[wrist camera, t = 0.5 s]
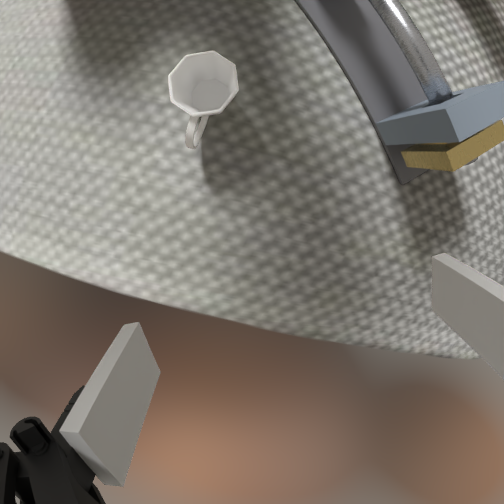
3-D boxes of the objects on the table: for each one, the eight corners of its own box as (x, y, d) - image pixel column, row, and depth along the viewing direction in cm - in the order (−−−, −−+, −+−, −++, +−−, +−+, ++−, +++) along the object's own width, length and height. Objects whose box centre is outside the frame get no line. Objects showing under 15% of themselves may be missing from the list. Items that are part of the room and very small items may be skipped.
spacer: (400, 151, 33) (446, 151, 24) (453, 124, 32) (501, 120, 23) (407, 167, 33) (453, 171, 24) (459, 138, 32) (507, 137, 23)
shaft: (333, -35, 22) (340, -49, 19) (355, -40, 22) (363, -53, 19) (449, 165, 29) (465, 167, 26) (466, 155, 29) (483, 156, 26)
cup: (248, 78, 33) (249, 57, 26) (225, 156, 36) (220, 155, 28) (191, 66, 33) (178, 44, 25) (168, 143, 35) (149, 139, 28)
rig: (270, -30, 29) (283, -105, 13) (331, -47, 28) (363, -111, 12) (400, 184, 37) (478, 201, 22) (452, 154, 36) (533, 160, 21)
